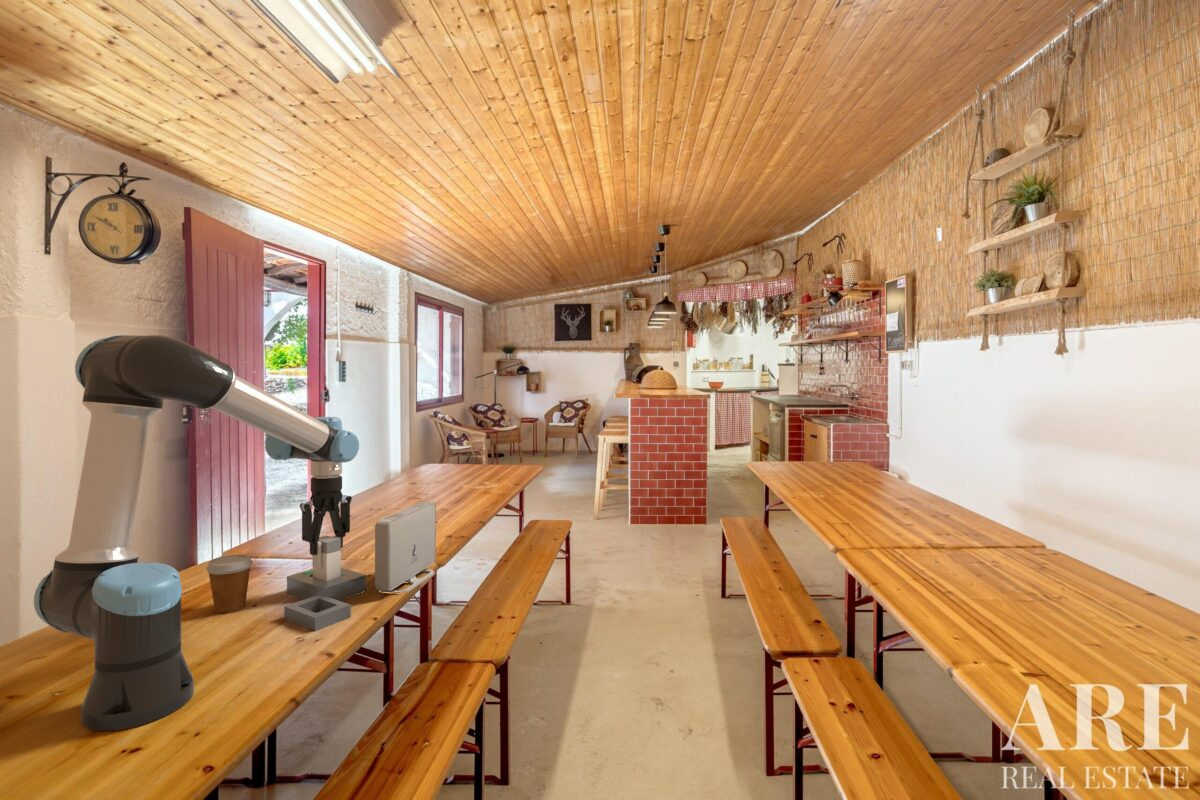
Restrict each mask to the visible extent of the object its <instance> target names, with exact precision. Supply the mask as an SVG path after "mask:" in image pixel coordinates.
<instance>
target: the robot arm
mask: <svg viewBox="0 0 1200 800" xmlns="http://www.w3.org/2000/svg"><path fill="white" fill-rule="evenodd" d="M74 369H75V370H74V372H75V377H76V380H77V381H78V383H80V385H81V386H82V388H83V389H84V391H83V395H82V396H83V397H82V405H83V406H84V407H85V408H86V409H87V410H88V411H89V412H90V421H89V427H88V433H87V439H86V443H85V444H86V445H85V449H84V456H83V463H82V468H81V474H80V477H79V478H80V479H79V485H78V491H77V495H76V496H77V498H76V501H75V506H74V507H75V508H74V514H73V519H72V526H71V531H70V538H69V543H68V546H67V547H66V548H65V549H64V550H62V551H61V552H60V553H59V554H57V555H55V557H54V561H53V568H52V569H51V570H50V571H49V573H48V574H47V575H46V576H44V577H43V578H42V579H41V580H40V581H39V583H38V585H37V587H36V589H35V591H34V597H33V606H34V607H33V608H34V611H35V612H36V615H37V616H38V618H39V619H40V620H41V621H42V622H43V623H45V624H47V625H48V626H50V627H52V628H54V629H55V630H57V631H59V632H62V633H67V634H68V633H70V634H73V635H76V636H81V637H82V638H86V639H89V640H93V642H94V643H93V645H94V646H93V647H94V673H93V676H92V677H91V681H90V683H89V685H88V689H87V691H86V694H85V696H84V700H83V702H82V704H81V709H80V712H81V714H80V716H81V719H80V721H81V725H82V726H83V727H84V728H86V729H88V730H91V731H96V732H98V731H101V732H107V731H108V732H109V731H112V732H113V731H119V730H126V729H130V728H134V727H137V726H139V727H140V726H142V725H145V724H149V723H151V722H154V721H156V720H159V719H161V718H164V717H167V716H168V715H170V714H172V713H174V712H175V711H177V710H178V709H180V708H182V707H183V706H185V704H187V703H188V702H189V701H190V699H191V700H192V697H193V695H194V694H195V693H194V692H195V684H194V683H195V682H194V676H193V674H192V672H191V670H190V668H189V666H188V663H187V661H186V659H185V656H184V655H183V651H182V596H183V588H182V584H181V577H180V573H179V572H178V570H176V569H175V568H174V567H173V566H171V565H168V564H165V563H160V562H150V563H146V562H139V556H140V554H139V552H137V551H136V550H135V549H134V548H133V547H132V545H131V541H132V535H133V529H134V521H135V517H136V509H137V504H138V498H139V492H140V486H141V478H142V473H143V468H144V467H143V466H144V461H145V457H146V456H145V454H146V449H147V442H148V438H149V431H150V430H149V429H150V424H151V420H152V418H154V417H155V416H156V415H158V414H160V412H162V411H163V405H164V400H167V401H168V400H170V401H175V402H180V403H183V404H188V405H190V406H193V407H195V408H197V409H199V410H204V411H206V410H210V409H212V410H215V411H217V412H218V413H221V414H224V415H226V416H228V417H230V418H232V419H234V420H237V421H239V422H241V423H242V424H245V425H248V427H249V426H250V428H251V427H252V428H254V429H256V430H257V431H261V432H263V433H265V434H267V435H266V437H265V441H264V444H265V446H264V447H265V451H266V454H267V456H269V457H270V458H271V459H272V460H274V461H282V460H284V461H287V460H290V459H297V460H298V459H299V460H306V461H307V460H308V461H310V470H309V471H310V472H309V473H310V474H309V475H310V476H312V477H311V478H310V491H311V492H310V493H311V495H310V496H311V497H310V498H309V500H308V501H307V502H305V503H304V502H300V504H299V507H300V511H301V541H304V542H306V543H307V542H308V543H309V554H310V556H312V557H311V559H312V563H311V564H312V567H313V566H314V567H318V568H320V567H321V542H319V537H321V536H320V535H321V531H322V526H323V522H324V517H325V516H326V514H327V513H329V517H330V520H331V524H332V525H331V526H332V529H333V534H334V535H332V536H331V537H335V538H339V539H341V549H343V547H344V537H346V534H347V533H350V532H351V512H350V511H351V502H352V499H353V497H352V496H351V495H343V493H342V490H343V476H342V474H343V463H348V462H351V461H352V460H354V459H355V458H356V456H357V455H358V453H359V449H360V441H359V438H358V436H357V435H356V434H355V433H354V432H353V431H350V430H349V431H348V430H345V429H343V423H342V421H343V420H342V419H341V418H340V417H338V416H317V417H313V416H311V415H310V414H308V413H306V412H305V411H303V410H301V409H298V408H297V407H295V406H293V405H291V404H289V403H287V402H285V401H284V400H282V399H280V398H278V397H276V396H274V395H273V394H271V393H269V392H267V391H265V390H264V389H262V388H259V386H256V385H255V384H253V383H251V382H249V381H246V379H243V378H242V377H239V376H238V375H236V374H235V373H236V372H235V369H234V368H233V367H232V366H230V365H229V364H227V363H225V362H223V360H222V361H221V359H219V358H217V357H214V356H212V355H211V354H209V353H207V352H205V351H203V350H202V349H199V348H197V347H196V346H194V345H191V344H189V343H187V342H185V341H183V340H180V339H177V338H175V337H172V336H166V335H162V334H161V335H160V334H159V335H157V334H154V335H153V334H150V335H149V334H148V335H127V334H126V335H125V334H120V335H111V336H108V337H103V338H100V339H97V340H95V341H92V342H91V343H90V344H88V345H86V346H85V347H84V348H83V349H82V350H81V352H80V353H79V354H78V356H77V358H76V360H75V366H74ZM339 504H340V505H339ZM313 507H314V508H313ZM312 510H313V512H312Z"/></svg>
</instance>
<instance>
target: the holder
mask: <svg viewBox="0 0 1200 800" xmlns="http://www.w3.org/2000/svg"><path fill="white" fill-rule="evenodd" d="M283 608H284V611H283V612H284V613H283V615H284V616H283V617H284V620H286V621H289V622H291V623H294V624H296V625H298V626H301V627H303V628H307V629H308V630H312V631H314V632H317V631H318V630H319V631H320V630H322V629H324V628H327V627H329V626H332V625H335V624H337V623H339V622H341V621H345V620H347V619H349V617H350V618H351V617H352V616H351V615H352V605H351V604H350V603H346V602H343V601H342V600H341V601H338V600H335V599H332V598H329V597H326V596H323V595H320V594H319V595H316V596H314V597H311V598H308V599H302V600H300V601H296V602H293V603H290V604H287V605H284V606H283ZM346 618H347V619H346ZM344 619H345V620H344Z"/></svg>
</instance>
